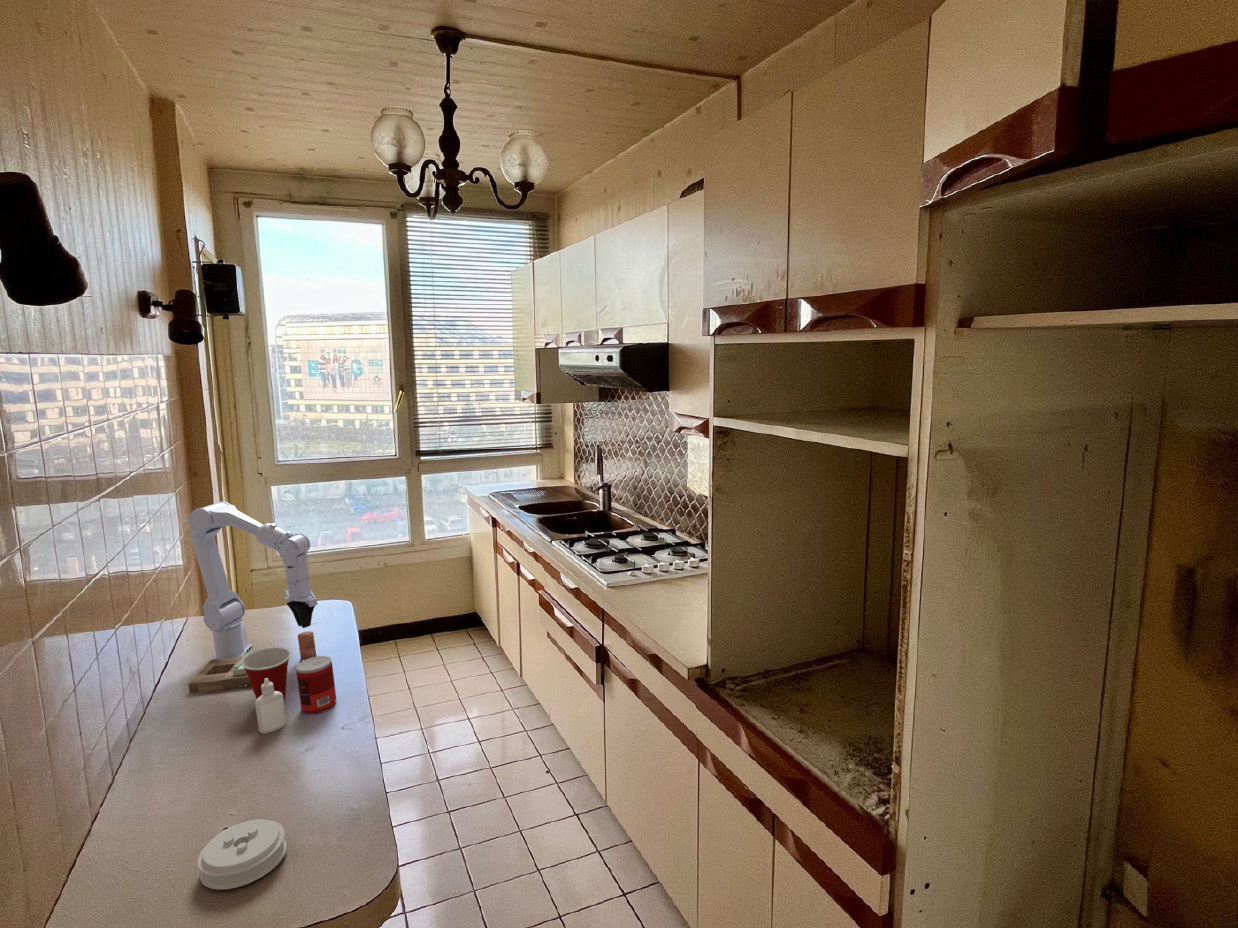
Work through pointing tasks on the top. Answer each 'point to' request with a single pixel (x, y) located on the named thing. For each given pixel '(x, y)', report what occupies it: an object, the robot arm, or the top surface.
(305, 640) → the pin
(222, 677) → the board
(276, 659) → the plastic cup
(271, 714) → the eye dropper bottle
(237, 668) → the cover
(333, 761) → the top surface
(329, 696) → the canned food
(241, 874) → the lid
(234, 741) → the top surface
